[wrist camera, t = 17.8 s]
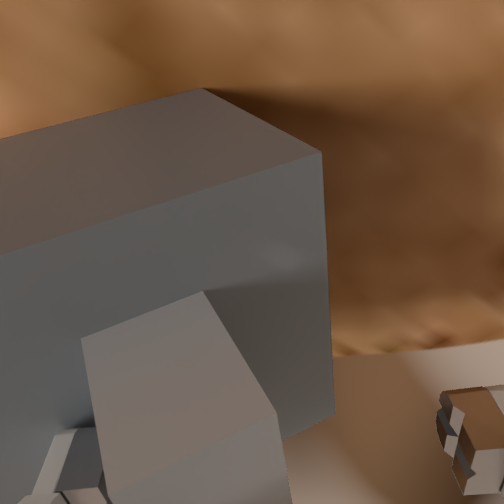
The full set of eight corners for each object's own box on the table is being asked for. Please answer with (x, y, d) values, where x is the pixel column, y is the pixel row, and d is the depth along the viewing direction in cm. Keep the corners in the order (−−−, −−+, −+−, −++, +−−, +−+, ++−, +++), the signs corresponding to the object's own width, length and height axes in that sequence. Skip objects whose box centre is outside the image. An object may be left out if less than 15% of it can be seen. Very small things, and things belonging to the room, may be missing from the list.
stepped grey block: (201, 87, 17) (451, 220, 7) (240, 287, 23) (411, 515, 13) (-86, 160, 14) (-325, 541, 4) (40, 367, 20) (60, 737, 10)
